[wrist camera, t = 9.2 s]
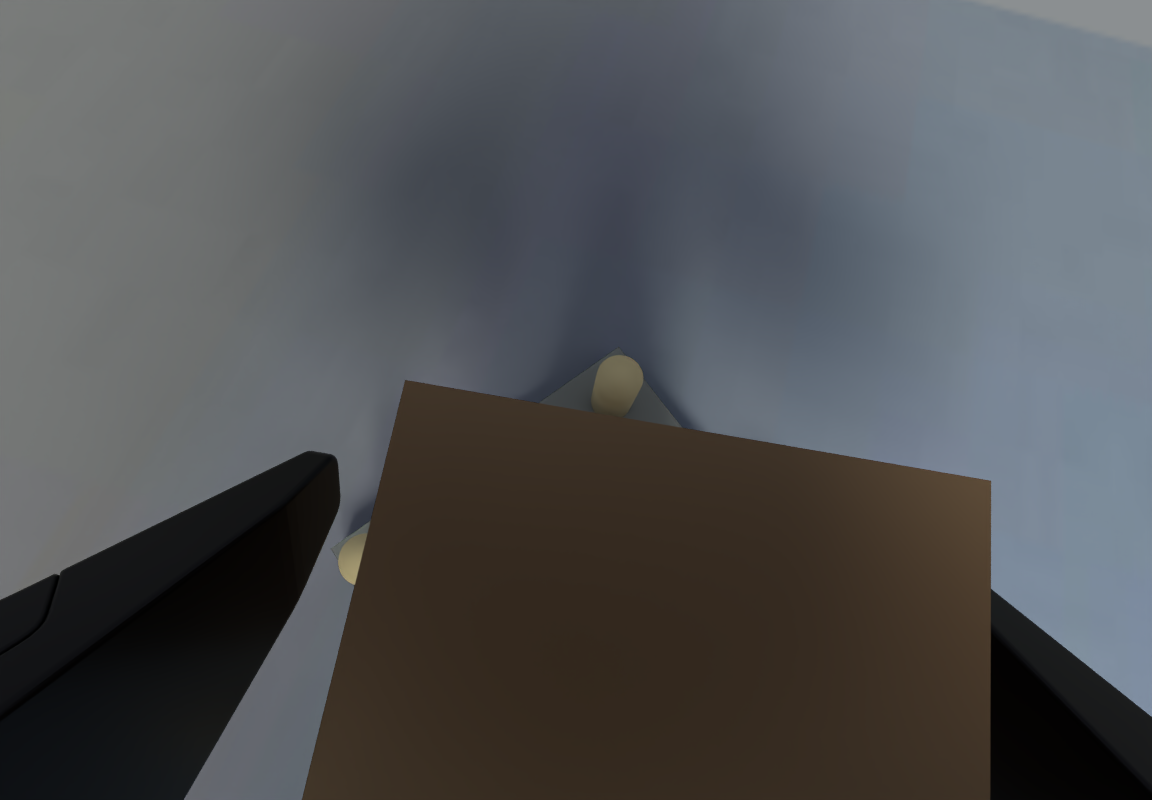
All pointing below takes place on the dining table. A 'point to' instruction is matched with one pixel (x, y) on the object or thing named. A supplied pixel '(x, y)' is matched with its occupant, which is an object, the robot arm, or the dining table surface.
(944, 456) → the dining table surface
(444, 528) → the walnut shelf block
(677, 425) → the peg plate
